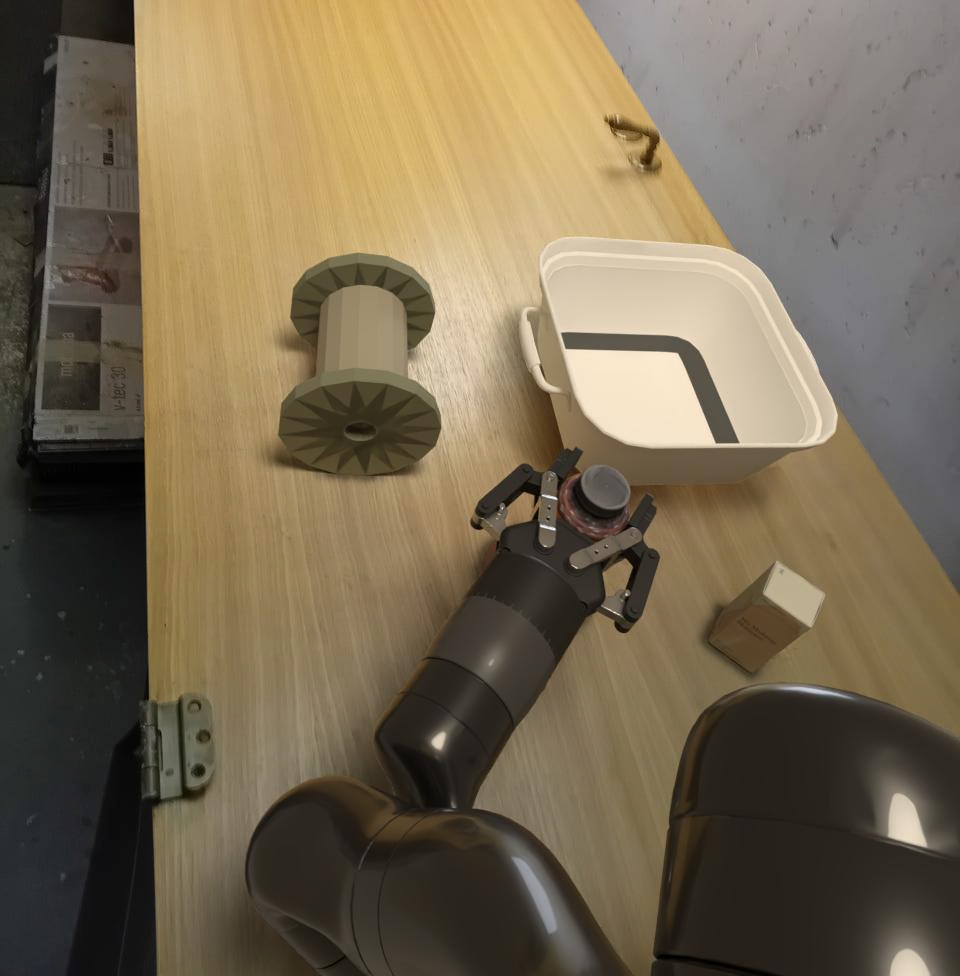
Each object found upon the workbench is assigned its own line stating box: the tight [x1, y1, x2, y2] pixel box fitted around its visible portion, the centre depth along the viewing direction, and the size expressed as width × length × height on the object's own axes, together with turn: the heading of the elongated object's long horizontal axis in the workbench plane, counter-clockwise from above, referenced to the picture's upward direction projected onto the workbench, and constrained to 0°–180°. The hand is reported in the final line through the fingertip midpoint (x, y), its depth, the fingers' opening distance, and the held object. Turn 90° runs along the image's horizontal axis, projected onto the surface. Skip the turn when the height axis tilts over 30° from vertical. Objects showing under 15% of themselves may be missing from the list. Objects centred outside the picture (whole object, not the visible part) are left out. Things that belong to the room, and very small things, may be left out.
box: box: [708, 560, 826, 674], centre depth 79 cm, size 5×4×11 cm
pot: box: [517, 235, 839, 486], centre depth 94 cm, size 34×29×15 cm
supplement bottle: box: [556, 465, 631, 544], centre depth 68 cm, size 6×6×11 cm
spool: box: [277, 252, 443, 477], centre depth 85 cm, size 16×15×15 cm
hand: (611, 477), depth 66 cm, fingers closed on supplement bottle, 6 cm apart
